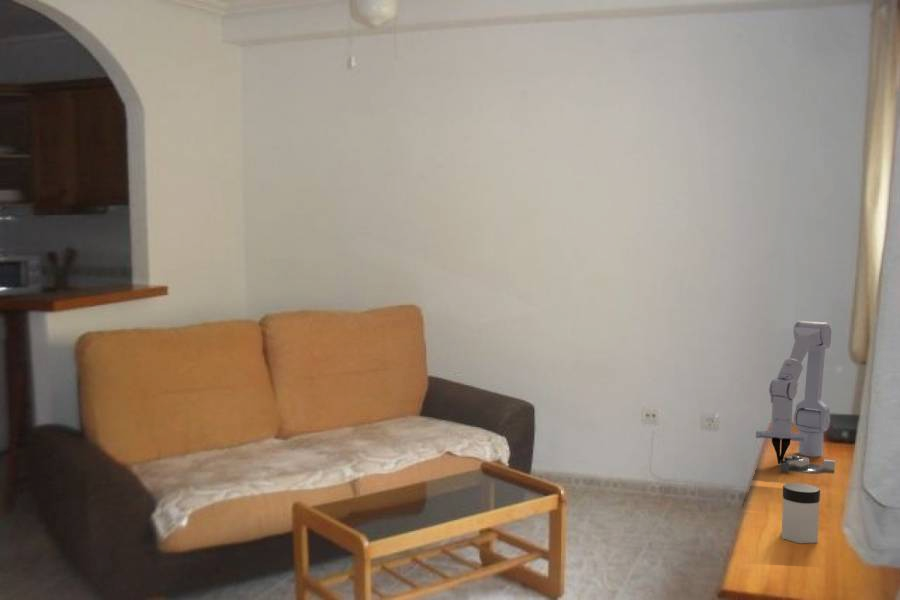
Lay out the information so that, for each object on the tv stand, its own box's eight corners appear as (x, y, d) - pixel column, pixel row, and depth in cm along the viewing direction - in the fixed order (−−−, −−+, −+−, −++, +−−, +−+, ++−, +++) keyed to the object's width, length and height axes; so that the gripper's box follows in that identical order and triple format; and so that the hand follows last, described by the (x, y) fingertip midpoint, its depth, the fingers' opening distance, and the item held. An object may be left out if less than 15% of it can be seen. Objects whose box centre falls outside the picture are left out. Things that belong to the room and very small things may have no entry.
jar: (826, 539, 213) (828, 488, 212) (808, 546, 208) (810, 494, 207) (791, 529, 220) (793, 480, 219) (772, 536, 215) (774, 486, 214)
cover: (784, 463, 279) (784, 452, 279) (808, 465, 277) (809, 454, 277) (784, 468, 273) (784, 457, 272) (809, 470, 270) (809, 460, 270)
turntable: (782, 463, 282) (782, 451, 282) (832, 468, 277) (833, 456, 277) (782, 473, 270) (782, 461, 270) (835, 478, 265) (836, 466, 265)
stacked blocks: (779, 474, 271) (780, 460, 270) (788, 475, 270) (789, 461, 270) (779, 477, 268) (780, 462, 268) (788, 478, 267) (789, 463, 267)
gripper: (756, 419, 274) (754, 463, 275) (808, 423, 269) (806, 468, 270) (756, 415, 281) (755, 458, 282) (807, 418, 276) (805, 463, 277)
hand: (780, 463), depth 276 cm, fingers closed
